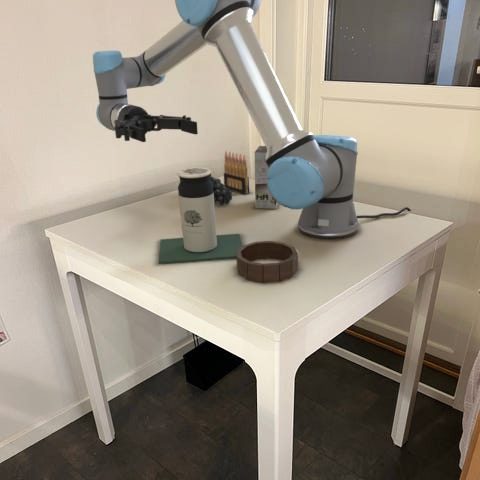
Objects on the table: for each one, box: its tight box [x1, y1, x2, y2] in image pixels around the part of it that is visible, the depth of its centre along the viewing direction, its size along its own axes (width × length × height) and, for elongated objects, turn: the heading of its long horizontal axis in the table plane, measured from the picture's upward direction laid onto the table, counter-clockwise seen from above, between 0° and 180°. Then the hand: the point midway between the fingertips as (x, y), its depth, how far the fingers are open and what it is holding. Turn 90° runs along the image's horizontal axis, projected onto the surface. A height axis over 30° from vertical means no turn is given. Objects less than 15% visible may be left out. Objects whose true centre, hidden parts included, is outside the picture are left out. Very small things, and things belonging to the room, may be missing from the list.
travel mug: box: [177, 167, 217, 252], centre depth 112 cm, size 8×8×18 cm
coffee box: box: [254, 145, 279, 210], centre depth 140 cm, size 9×6×16 cm
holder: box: [235, 240, 299, 284], centre depth 105 cm, size 13×13×4 cm
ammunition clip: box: [223, 150, 251, 195], centre depth 155 cm, size 11×2×12 cm, turn 41°
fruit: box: [210, 173, 234, 206], centre depth 146 cm, size 9×8×15 cm
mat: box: [158, 233, 243, 265], centre depth 117 cm, size 20×14×1 cm
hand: (170, 131), depth 110 cm, fingers open, 13 cm apart
